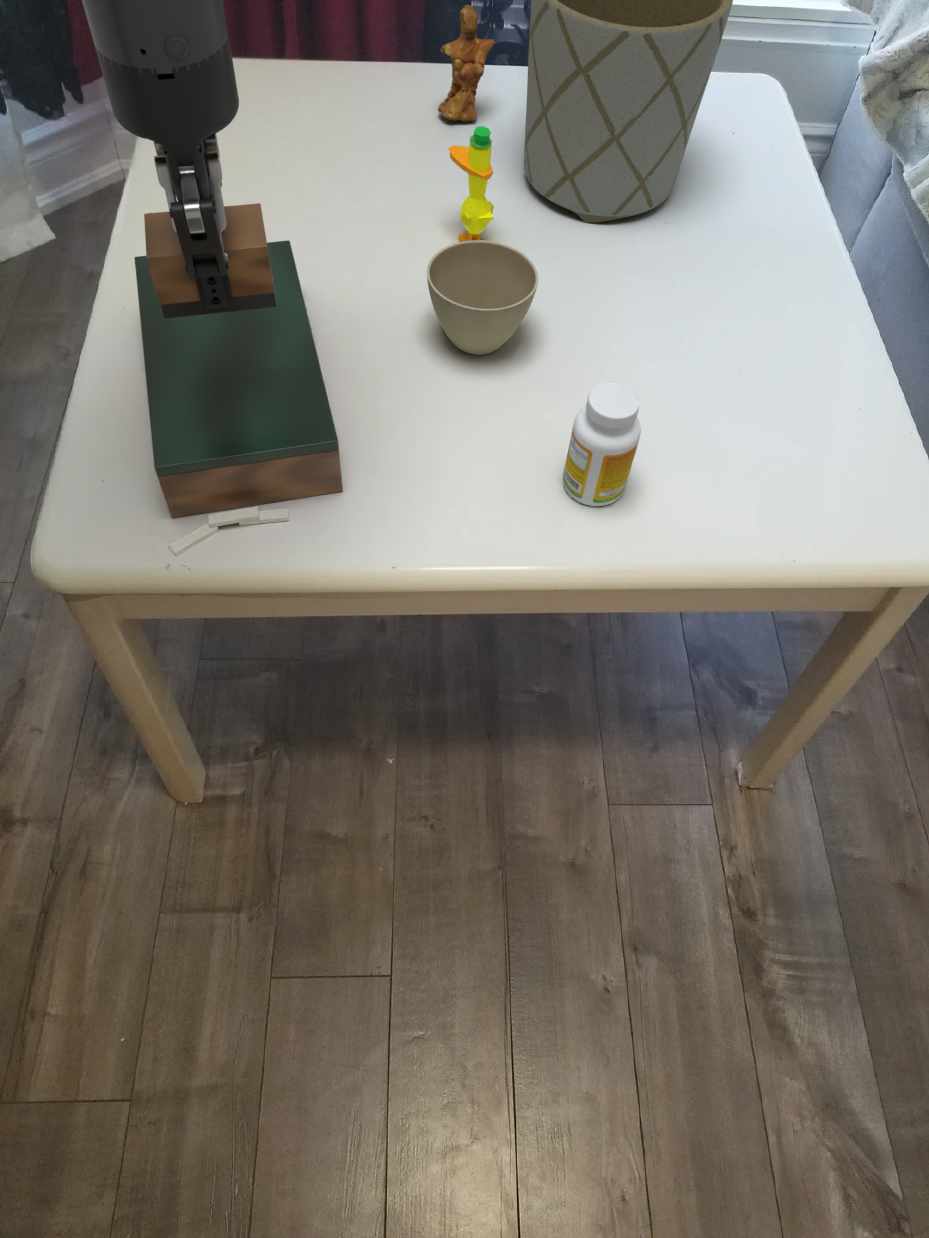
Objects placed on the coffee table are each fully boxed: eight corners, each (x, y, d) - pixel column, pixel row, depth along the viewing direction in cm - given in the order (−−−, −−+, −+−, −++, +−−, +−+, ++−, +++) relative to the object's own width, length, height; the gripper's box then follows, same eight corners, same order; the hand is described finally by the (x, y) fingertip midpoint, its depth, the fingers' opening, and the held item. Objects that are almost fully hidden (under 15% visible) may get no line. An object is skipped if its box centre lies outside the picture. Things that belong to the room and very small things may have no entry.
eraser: (270, 264, 69) (260, 203, 65) (277, 307, 66) (267, 246, 62) (161, 275, 68) (143, 213, 63) (163, 319, 65) (146, 257, 61)
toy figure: (435, 230, 97) (438, 116, 86) (460, 218, 98) (466, 104, 88) (478, 262, 94) (486, 148, 84) (503, 248, 95) (514, 135, 85)
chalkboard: (171, 518, 74) (154, 468, 69) (150, 311, 87) (134, 256, 82) (342, 491, 76) (338, 441, 71) (296, 294, 90) (289, 239, 85)
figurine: (479, 133, 107) (486, 21, 97) (432, 123, 108) (435, 11, 98) (490, 114, 110) (498, 3, 100) (445, 104, 110) (448, -7, 100)
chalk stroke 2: (207, 514, 73) (208, 518, 74) (208, 524, 73) (209, 528, 73) (257, 506, 74) (258, 510, 74) (258, 515, 73) (259, 519, 74)
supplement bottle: (630, 470, 79) (656, 386, 71) (616, 515, 76) (640, 432, 68) (571, 453, 80) (589, 368, 72) (554, 497, 77) (571, 413, 69)
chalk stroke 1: (168, 545, 72) (169, 549, 72) (175, 553, 72) (176, 557, 72) (211, 520, 74) (212, 524, 74) (218, 527, 73) (219, 531, 74)
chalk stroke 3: (237, 512, 74) (238, 516, 74) (238, 522, 73) (239, 525, 74) (287, 507, 75) (288, 511, 75) (288, 517, 74) (289, 520, 74)
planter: (716, 199, 102) (776, 1, 86) (583, 252, 96) (620, 50, 79) (609, 118, 110) (644, -77, 94) (480, 162, 104) (493, -39, 87)
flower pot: (510, 385, 84) (517, 322, 78) (409, 355, 86) (409, 291, 80) (542, 319, 90) (552, 256, 84) (447, 293, 91) (450, 228, 85)
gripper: (91, -25, 55) (159, 229, 69) (91, 100, 48) (167, 356, 62) (217, -31, 56) (258, 220, 71) (237, 90, 49) (278, 343, 63)
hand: (215, 282), depth 66 cm, fingers closed on eraser, 5 cm apart
